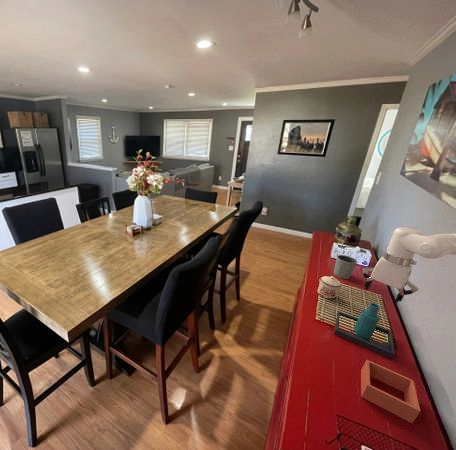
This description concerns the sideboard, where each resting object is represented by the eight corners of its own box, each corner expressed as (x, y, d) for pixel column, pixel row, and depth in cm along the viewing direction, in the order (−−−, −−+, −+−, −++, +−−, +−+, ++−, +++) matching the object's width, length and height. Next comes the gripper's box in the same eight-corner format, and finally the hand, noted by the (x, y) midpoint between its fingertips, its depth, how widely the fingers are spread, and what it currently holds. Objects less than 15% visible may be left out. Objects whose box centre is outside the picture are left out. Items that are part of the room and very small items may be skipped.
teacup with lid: (316, 295, 133) (322, 278, 128) (316, 287, 140) (322, 270, 135) (342, 304, 127) (350, 286, 122) (342, 295, 134) (348, 277, 129)
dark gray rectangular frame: (388, 335, 108) (391, 330, 107) (392, 358, 96) (395, 354, 95) (336, 314, 119) (338, 310, 118) (333, 334, 108) (335, 329, 107)
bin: (406, 391, 84) (413, 380, 82) (412, 423, 75) (420, 411, 73) (360, 370, 91) (366, 359, 89) (361, 396, 82) (367, 385, 80)
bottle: (370, 332, 108) (383, 304, 102) (370, 341, 104) (384, 312, 98) (353, 326, 111) (365, 298, 105) (353, 334, 107) (366, 305, 101)
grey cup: (353, 281, 147) (360, 264, 143) (334, 277, 150) (340, 261, 145) (347, 272, 156) (353, 256, 152) (329, 269, 159) (334, 253, 154)
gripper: (431, 266, 88) (412, 304, 94) (373, 247, 102) (360, 281, 108) (425, 271, 84) (406, 310, 90) (366, 251, 98) (352, 286, 104)
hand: (381, 295), depth 99 cm, fingers open, 9 cm apart
